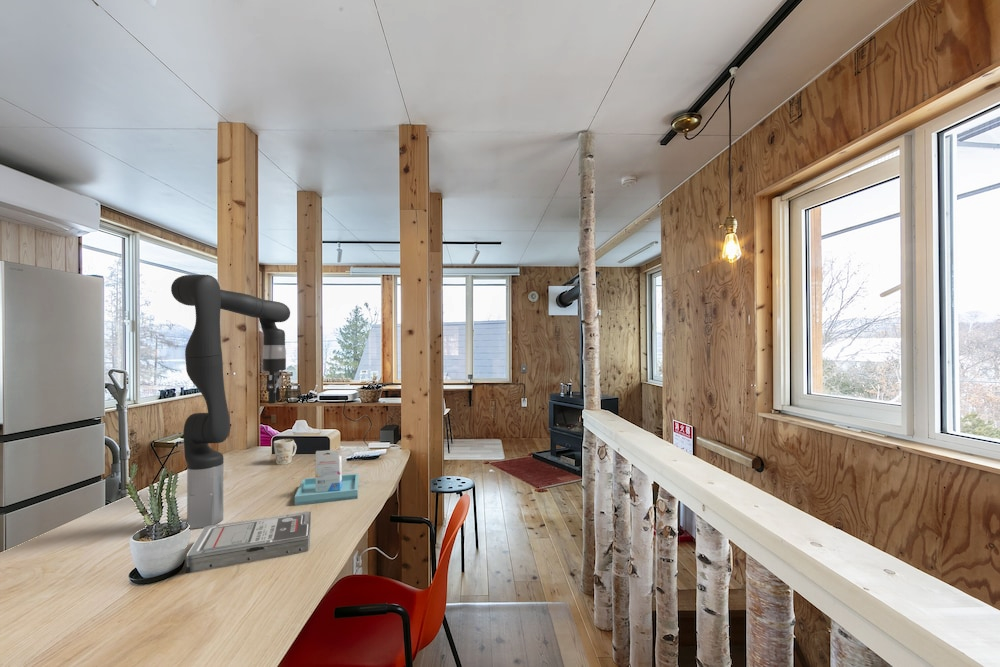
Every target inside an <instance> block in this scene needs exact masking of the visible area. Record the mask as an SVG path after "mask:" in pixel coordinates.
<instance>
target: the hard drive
mask: <svg viewBox="0 0 1000 667" xmlns="http://www.w3.org/2000/svg"><path fill="white" fill-rule="evenodd" d="M311 512H312V511H302V512H296V513H295V512H294V513H287V514H281V515H274V516H267V517H262V518H260V517H259V518H254V519H253V518H252V519H248V520H241V521H233V522H232V521H231V522H226V523H219V524H214V525H212V526H207V527H202V529H201V532H200V533H199V534H198V536H197V537H196V539H195V541H194V542H193V544H192V546H191V547H190V548H189V550H188V552H187V553H186V566H185V568H184V575H185V574H190V573H196V572H197V573H198V572H202V571H208V570H213V569H219V568H225V567H230V566H237V565H241V564H247V563H253V562H258V561H264V560H269V559H274V558H279V557H285V556H286V557H287V556H292V555H298V554H303V553H308V552H309V551H310V549H311V548H310V546H311V528H312V526H311V525H312V521H311V520H312V517H311V516H312V515H311Z"/></svg>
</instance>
